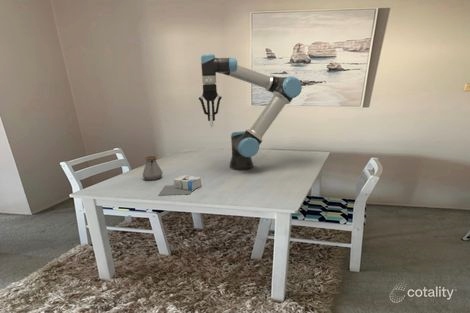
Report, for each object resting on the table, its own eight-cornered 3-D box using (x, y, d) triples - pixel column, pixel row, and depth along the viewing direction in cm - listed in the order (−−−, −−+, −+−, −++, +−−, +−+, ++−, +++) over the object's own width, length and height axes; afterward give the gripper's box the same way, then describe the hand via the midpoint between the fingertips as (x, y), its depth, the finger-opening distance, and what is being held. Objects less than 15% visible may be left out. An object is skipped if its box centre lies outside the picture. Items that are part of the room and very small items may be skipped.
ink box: (191, 181, 153) (173, 179, 158) (192, 190, 154) (174, 188, 159) (201, 176, 160) (183, 174, 165) (201, 185, 161) (183, 183, 167)
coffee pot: (142, 176, 182) (139, 152, 178) (162, 174, 185) (159, 150, 182) (143, 188, 162) (140, 161, 158) (165, 185, 165) (162, 158, 162)
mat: (194, 185, 163) (194, 184, 163) (190, 194, 150) (190, 193, 150) (165, 186, 164) (164, 185, 164) (158, 195, 150) (158, 195, 150)
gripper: (196, 84, 162) (199, 128, 167) (220, 83, 161) (223, 127, 167) (198, 84, 169) (201, 126, 174) (221, 83, 169) (223, 125, 174)
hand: (211, 126), depth 171 cm, fingers closed
